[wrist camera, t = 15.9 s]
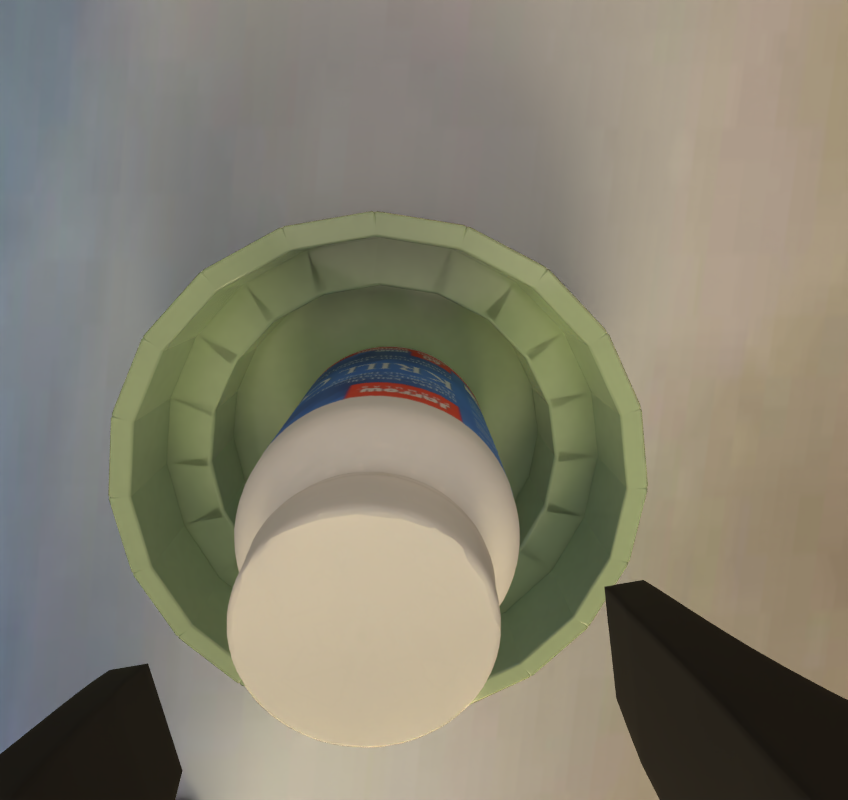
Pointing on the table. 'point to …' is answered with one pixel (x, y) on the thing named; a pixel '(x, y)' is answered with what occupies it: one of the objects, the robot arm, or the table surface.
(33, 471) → the table surface
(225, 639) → the green pet bowl
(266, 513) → the pill bottle
